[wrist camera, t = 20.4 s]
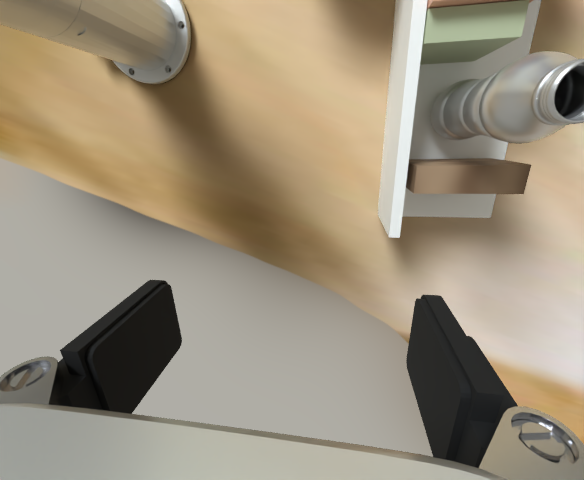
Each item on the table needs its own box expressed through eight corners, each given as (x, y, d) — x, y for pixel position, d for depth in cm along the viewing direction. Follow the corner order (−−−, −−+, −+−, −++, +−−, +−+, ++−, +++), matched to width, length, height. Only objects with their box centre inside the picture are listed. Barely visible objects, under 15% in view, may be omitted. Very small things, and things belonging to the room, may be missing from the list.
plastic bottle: (423, 91, 35) (524, 46, 16) (484, 75, 33) (670, 6, 15) (427, 145, 37) (519, 158, 18) (484, 132, 35) (647, 134, 17)
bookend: (399, 181, 39) (413, 193, 31) (401, 159, 38) (417, 165, 30) (486, 181, 37) (523, 194, 30) (491, 158, 36) (531, 164, 29)
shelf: (377, 214, 42) (393, 247, 30) (399, -46, 31) (438, -156, 19) (487, 215, 40) (551, 252, 28) (550, -64, 29) (700, -201, 17)
